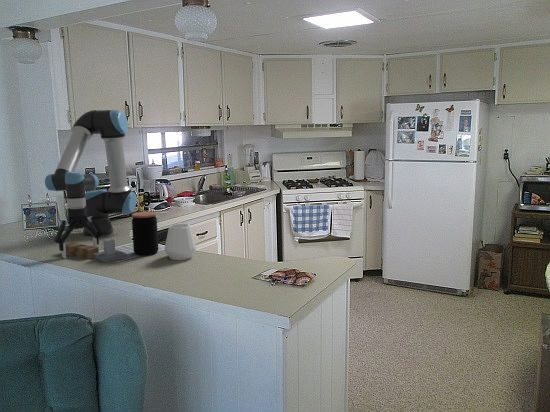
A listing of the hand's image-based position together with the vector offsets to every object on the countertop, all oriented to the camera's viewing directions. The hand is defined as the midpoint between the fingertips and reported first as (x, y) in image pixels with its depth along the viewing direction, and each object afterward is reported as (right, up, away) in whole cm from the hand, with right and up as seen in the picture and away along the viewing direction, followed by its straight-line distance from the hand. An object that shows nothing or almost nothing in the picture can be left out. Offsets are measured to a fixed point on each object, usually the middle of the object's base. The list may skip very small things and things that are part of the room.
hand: (80, 254), depth 202 cm
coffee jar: (+28, 0, +3) cm, 28 cm away
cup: (+45, -1, -4) cm, 45 cm away
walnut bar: (0, 0, 0) cm, 1 cm away
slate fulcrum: (+15, -1, -5) cm, 16 cm away
